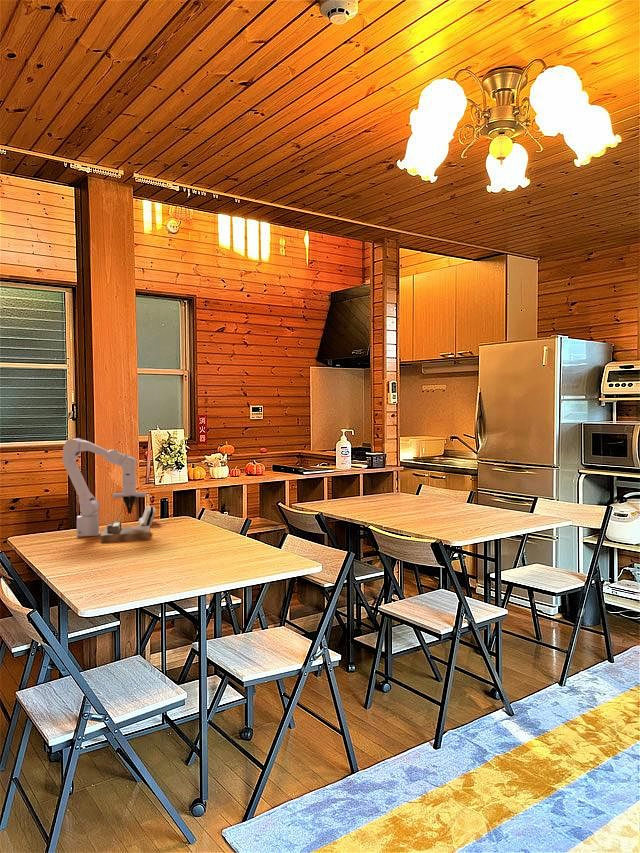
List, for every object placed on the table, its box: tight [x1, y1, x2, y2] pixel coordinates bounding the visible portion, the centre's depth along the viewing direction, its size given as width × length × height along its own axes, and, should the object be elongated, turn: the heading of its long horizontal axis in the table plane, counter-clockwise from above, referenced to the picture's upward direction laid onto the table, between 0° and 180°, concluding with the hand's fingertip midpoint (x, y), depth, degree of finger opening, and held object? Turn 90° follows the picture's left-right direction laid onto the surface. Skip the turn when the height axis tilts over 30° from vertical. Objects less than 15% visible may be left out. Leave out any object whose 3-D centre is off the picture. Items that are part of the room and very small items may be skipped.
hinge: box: [137, 505, 157, 527], centre depth 323 cm, size 17×5×10 cm, turn 19°
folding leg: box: [112, 520, 122, 534], centre depth 290 cm, size 14×3×3 cm, turn 13°
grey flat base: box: [99, 523, 151, 543], centre depth 290 cm, size 20×18×6 cm
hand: (129, 513), depth 298 cm, fingers closed
